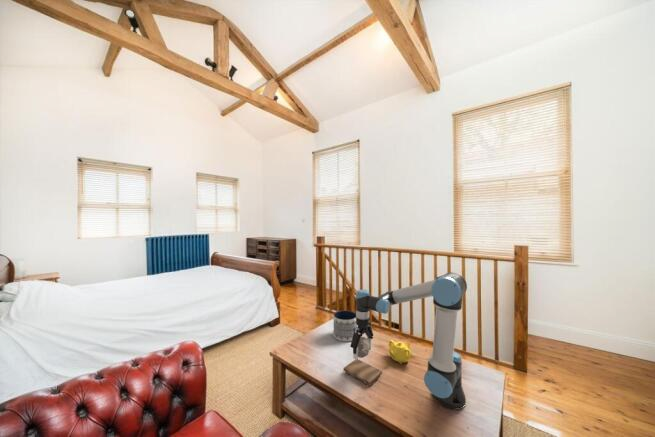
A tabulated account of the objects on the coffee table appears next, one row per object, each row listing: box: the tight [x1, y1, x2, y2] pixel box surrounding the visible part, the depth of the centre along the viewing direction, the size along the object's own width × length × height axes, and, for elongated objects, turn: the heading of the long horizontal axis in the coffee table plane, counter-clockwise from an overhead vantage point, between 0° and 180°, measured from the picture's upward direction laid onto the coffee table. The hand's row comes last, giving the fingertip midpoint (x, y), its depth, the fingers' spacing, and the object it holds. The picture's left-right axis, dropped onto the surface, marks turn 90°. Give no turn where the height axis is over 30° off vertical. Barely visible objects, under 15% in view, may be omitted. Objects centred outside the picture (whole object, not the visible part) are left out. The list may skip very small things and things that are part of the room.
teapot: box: [387, 339, 413, 365], centre depth 153 cm, size 20×18×11 cm
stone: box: [357, 336, 370, 359], centre depth 138 cm, size 9×14×10 cm, turn 158°
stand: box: [343, 359, 383, 387], centre depth 138 cm, size 18×13×3 cm
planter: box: [333, 310, 358, 343], centre depth 184 cm, size 18×18×16 cm
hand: (362, 353), depth 138 cm, fingers closed on stone, 13 cm apart
